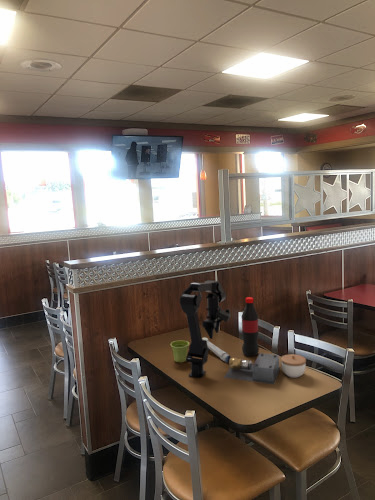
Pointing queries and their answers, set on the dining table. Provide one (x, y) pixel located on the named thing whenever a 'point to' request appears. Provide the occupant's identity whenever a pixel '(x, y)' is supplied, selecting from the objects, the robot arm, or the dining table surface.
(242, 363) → the silver and amber cylinder
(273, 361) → the plate
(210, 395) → the dining table surface
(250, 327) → the cola bottle
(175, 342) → the plant pot
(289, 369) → the lidded jar
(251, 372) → the mat
